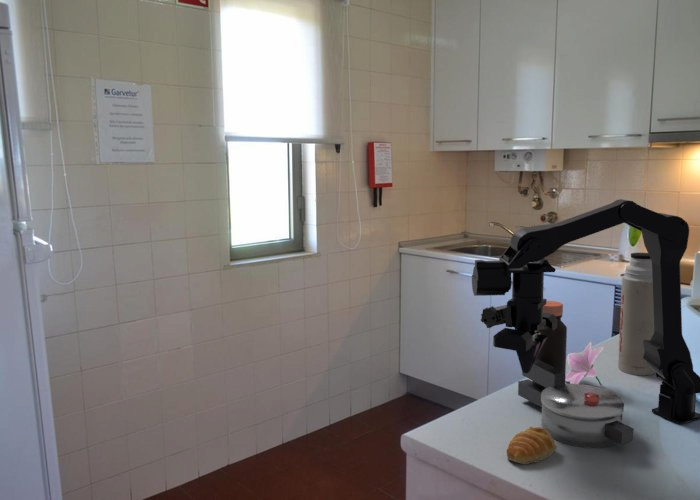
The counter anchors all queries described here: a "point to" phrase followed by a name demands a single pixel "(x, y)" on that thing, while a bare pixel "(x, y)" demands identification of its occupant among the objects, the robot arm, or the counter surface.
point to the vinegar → (554, 339)
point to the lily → (582, 364)
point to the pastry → (531, 446)
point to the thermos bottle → (636, 315)
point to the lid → (574, 395)
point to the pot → (577, 424)
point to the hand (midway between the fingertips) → (525, 372)
